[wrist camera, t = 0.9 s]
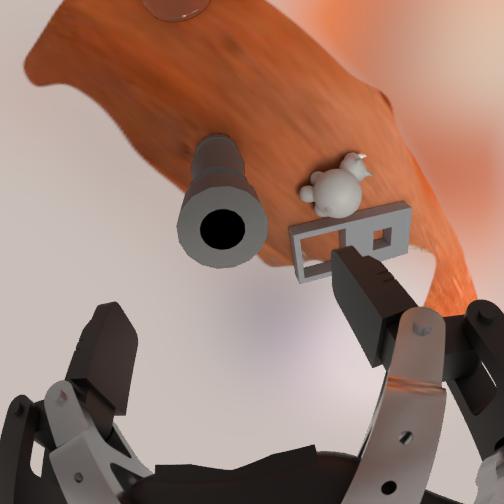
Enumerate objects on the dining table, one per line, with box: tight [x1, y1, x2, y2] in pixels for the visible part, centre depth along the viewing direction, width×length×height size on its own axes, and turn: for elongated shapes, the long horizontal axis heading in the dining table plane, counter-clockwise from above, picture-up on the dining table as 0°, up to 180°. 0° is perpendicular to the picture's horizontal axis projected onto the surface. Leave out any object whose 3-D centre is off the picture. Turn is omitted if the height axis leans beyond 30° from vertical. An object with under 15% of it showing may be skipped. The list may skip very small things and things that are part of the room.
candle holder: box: [177, 133, 268, 269], centre depth 28 cm, size 6×6×25 cm
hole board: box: [289, 201, 412, 284], centre depth 47 cm, size 10×23×3 cm, turn 101°
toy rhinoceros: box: [300, 152, 372, 218], centre depth 39 cm, size 7×12×8 cm, turn 133°
